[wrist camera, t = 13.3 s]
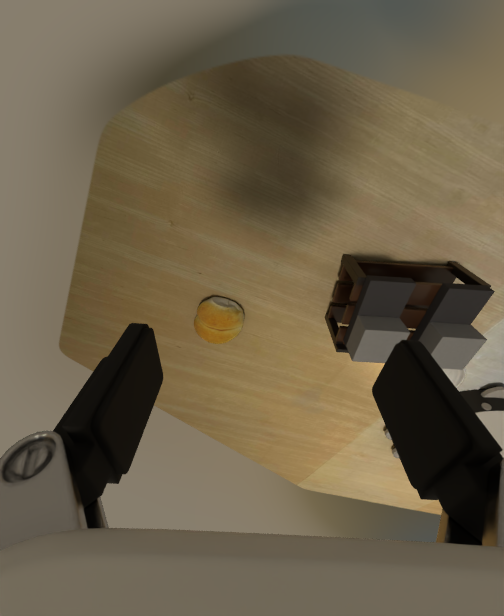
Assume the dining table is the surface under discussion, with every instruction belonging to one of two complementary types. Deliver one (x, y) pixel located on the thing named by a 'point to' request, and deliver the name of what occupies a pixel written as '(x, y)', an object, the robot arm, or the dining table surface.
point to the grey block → (453, 324)
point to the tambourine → (484, 412)
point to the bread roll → (218, 320)
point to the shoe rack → (423, 275)
